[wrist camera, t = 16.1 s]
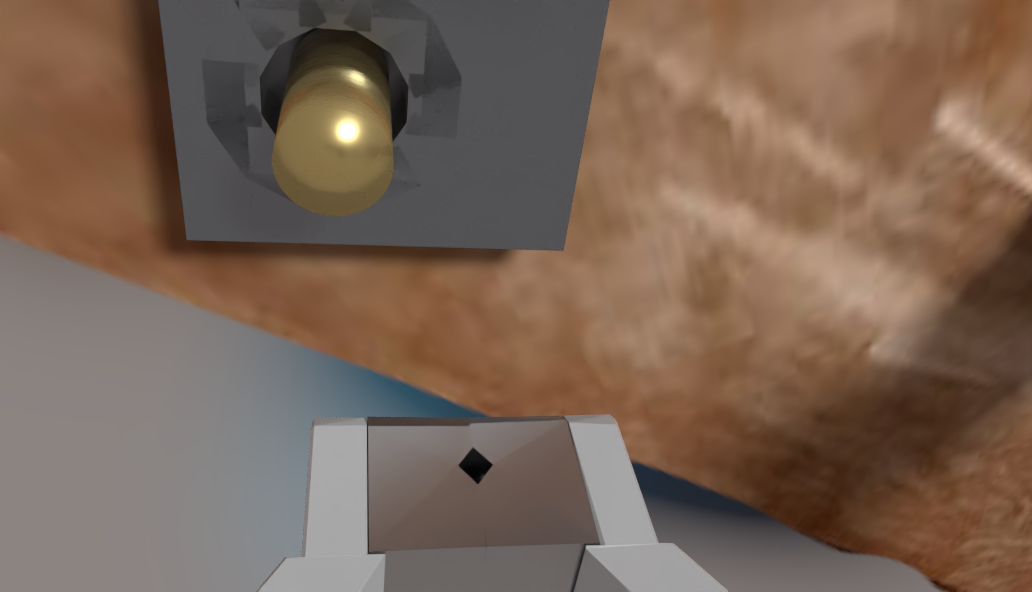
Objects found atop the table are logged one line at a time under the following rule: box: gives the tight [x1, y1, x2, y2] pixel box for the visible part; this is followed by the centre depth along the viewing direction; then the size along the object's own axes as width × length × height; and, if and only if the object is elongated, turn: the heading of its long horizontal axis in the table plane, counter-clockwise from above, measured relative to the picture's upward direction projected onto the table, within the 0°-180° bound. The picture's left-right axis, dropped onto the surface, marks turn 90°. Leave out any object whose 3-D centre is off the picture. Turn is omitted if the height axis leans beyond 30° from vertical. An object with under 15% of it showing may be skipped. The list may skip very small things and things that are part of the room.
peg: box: [272, 28, 394, 216], centre depth 32 cm, size 4×4×8 cm
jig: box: [158, 0, 610, 251], centre depth 34 cm, size 16×13×4 cm
